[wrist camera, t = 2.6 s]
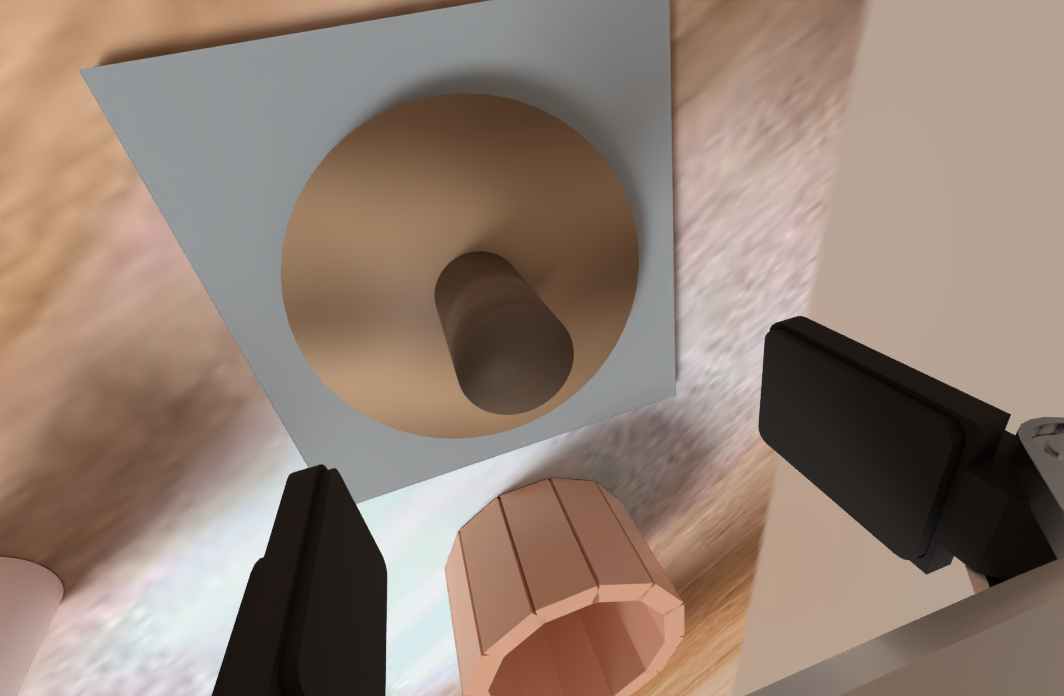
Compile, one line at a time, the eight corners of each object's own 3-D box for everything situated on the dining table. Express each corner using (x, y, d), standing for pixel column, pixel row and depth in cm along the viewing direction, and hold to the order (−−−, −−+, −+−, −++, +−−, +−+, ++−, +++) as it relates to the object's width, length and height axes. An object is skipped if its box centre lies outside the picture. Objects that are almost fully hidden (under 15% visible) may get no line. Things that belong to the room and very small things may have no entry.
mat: (91, 71, 12) (78, 69, 11) (658, -25, 14) (669, -30, 14) (335, 501, 20) (333, 511, 19) (668, 388, 22) (675, 395, 22)
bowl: (423, 522, 22) (437, 650, 17) (617, 453, 23) (684, 550, 18) (473, 635, 27) (495, 760, 22) (629, 572, 28) (684, 674, 23)
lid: (208, 142, 12) (91, 165, 7) (611, 58, 14) (739, 32, 9) (366, 461, 18) (361, 596, 13) (635, 372, 20) (721, 459, 15)
